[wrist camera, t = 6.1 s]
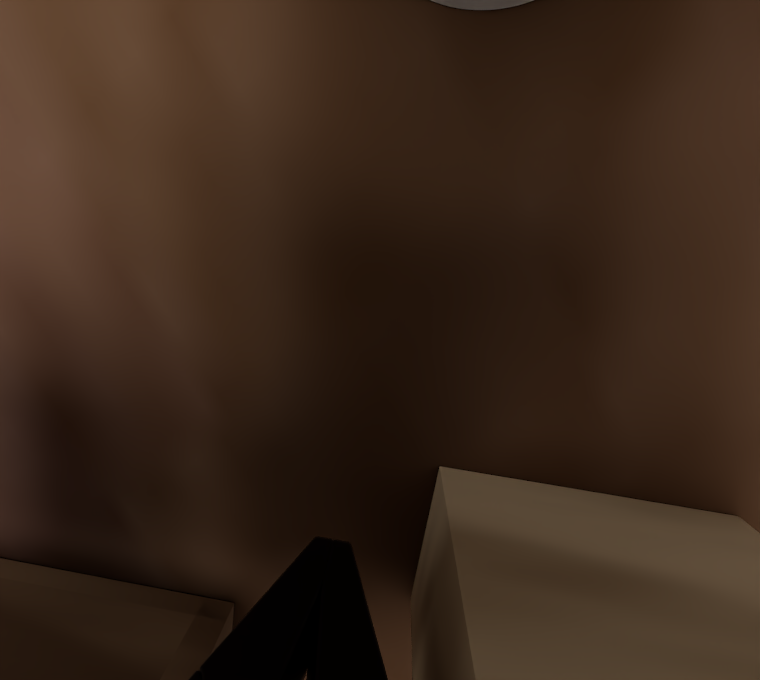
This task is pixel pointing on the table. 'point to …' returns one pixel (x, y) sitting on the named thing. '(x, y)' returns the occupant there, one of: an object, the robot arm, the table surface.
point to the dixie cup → (481, 4)
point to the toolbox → (102, 627)
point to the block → (580, 586)
